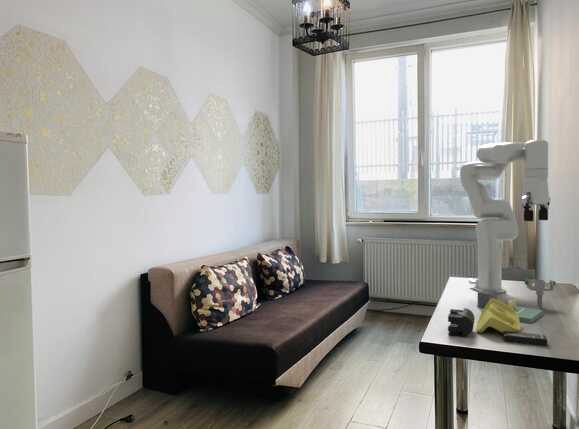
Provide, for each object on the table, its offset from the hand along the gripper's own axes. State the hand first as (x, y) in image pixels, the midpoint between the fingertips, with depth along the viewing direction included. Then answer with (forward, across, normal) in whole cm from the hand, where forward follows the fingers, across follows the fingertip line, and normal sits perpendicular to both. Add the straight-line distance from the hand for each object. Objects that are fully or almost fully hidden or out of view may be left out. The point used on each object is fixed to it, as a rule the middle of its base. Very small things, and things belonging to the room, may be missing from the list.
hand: (536, 220), depth 161 cm
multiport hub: (+34, +39, +18) cm, 54 cm away
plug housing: (+33, +11, -13) cm, 37 cm away
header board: (+33, +15, 0) cm, 36 cm away
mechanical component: (+33, -5, -1) cm, 33 cm away
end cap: (+33, +46, +3) cm, 57 cm away
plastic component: (+33, +32, +6) cm, 47 cm away
